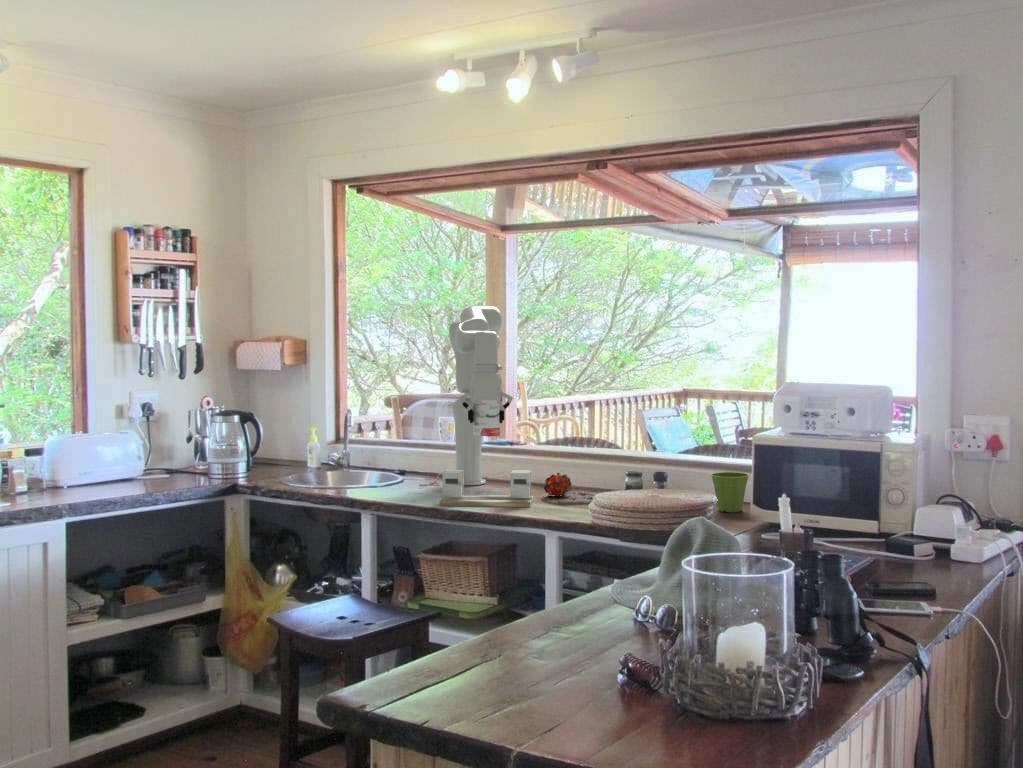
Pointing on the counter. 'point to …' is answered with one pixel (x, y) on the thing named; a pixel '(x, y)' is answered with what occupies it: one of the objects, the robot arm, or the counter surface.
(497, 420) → the ink box
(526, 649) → the counter surface
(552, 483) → the dragon fruit
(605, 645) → the counter surface
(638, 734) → the counter surface
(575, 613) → the counter surface
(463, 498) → the rail board
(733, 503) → the plant pot
